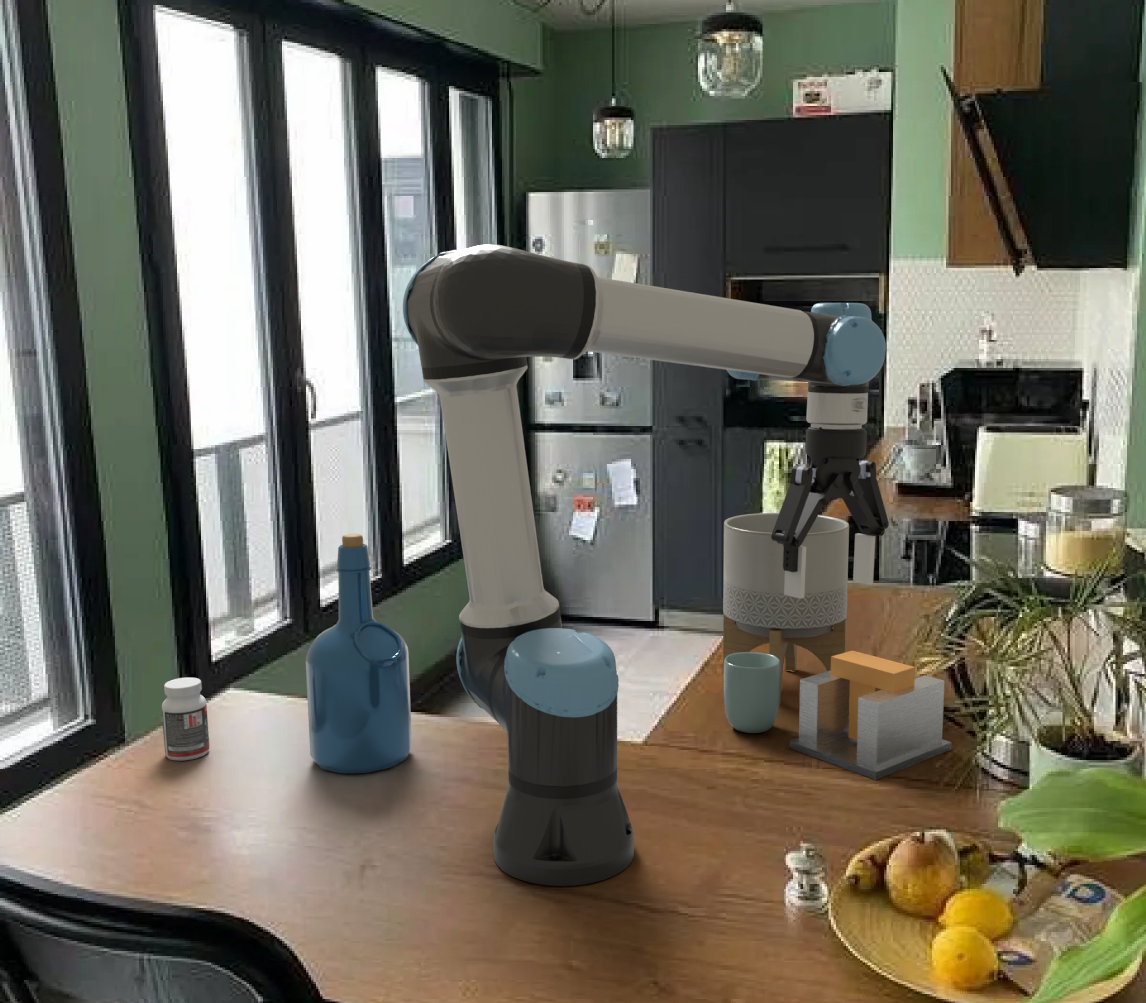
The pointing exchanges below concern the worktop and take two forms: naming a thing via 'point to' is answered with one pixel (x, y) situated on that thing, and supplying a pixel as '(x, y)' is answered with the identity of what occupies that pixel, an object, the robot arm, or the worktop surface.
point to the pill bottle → (185, 720)
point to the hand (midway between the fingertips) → (829, 589)
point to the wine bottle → (358, 679)
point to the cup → (751, 691)
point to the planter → (759, 591)
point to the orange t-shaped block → (869, 678)
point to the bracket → (871, 725)
